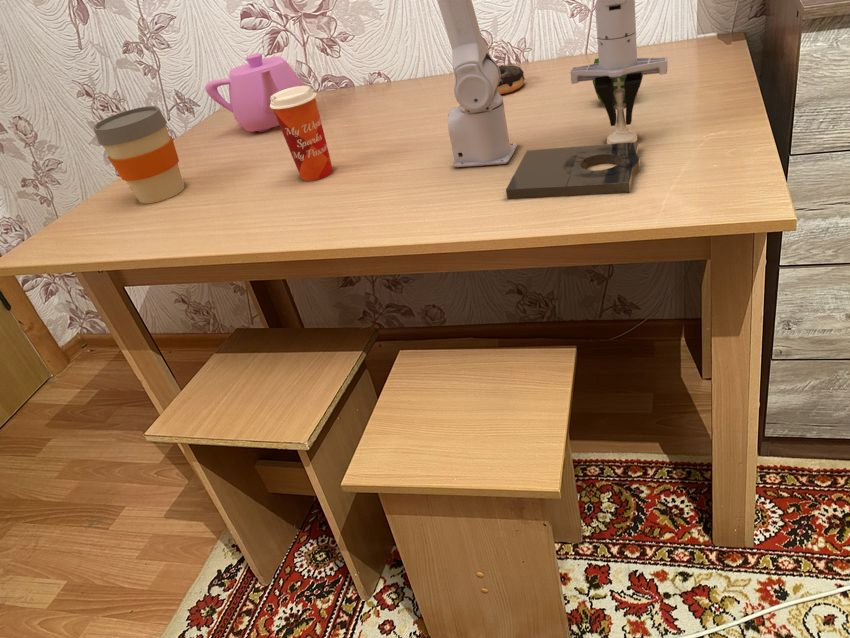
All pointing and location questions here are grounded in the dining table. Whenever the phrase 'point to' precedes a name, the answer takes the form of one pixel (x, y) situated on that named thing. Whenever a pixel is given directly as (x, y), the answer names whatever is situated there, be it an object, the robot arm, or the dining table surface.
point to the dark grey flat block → (575, 171)
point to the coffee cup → (303, 131)
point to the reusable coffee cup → (142, 152)
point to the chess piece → (620, 119)
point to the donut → (510, 79)
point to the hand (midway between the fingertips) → (621, 123)
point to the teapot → (255, 90)
